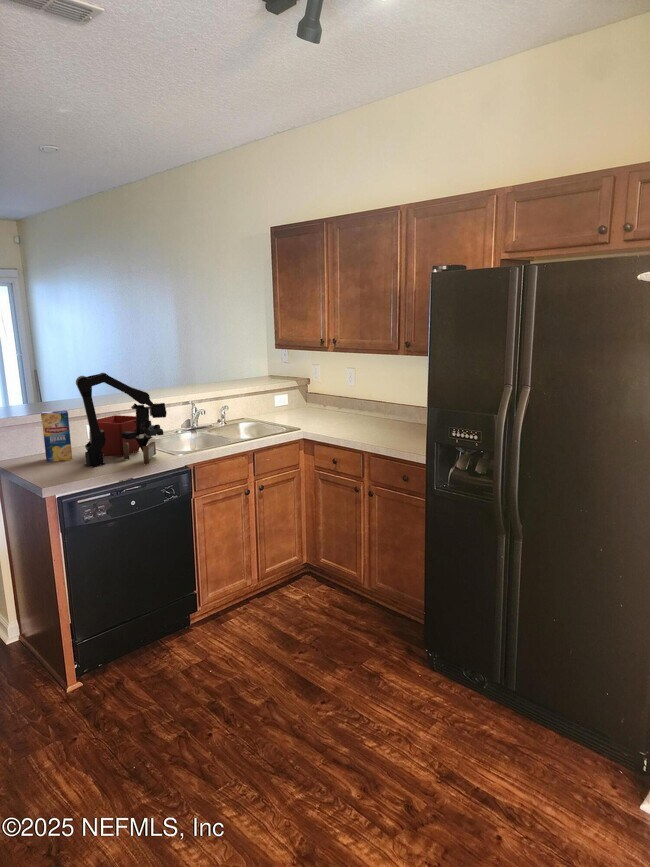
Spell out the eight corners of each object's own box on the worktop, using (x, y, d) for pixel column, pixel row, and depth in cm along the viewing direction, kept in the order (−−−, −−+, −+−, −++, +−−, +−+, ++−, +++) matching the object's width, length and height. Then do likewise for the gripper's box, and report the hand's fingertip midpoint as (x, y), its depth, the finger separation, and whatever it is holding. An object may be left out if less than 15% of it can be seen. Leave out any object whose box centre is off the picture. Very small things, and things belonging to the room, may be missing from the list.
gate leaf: (145, 460, 255) (144, 447, 254) (152, 454, 267) (151, 441, 266) (149, 460, 255) (148, 447, 254) (156, 454, 267) (155, 441, 266)
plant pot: (117, 447, 287) (114, 414, 283) (149, 450, 280) (146, 416, 277) (90, 456, 269) (86, 421, 266) (123, 459, 263) (120, 423, 259)
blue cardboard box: (45, 459, 264) (40, 412, 259) (71, 456, 269) (67, 410, 264) (46, 462, 258) (41, 414, 253) (72, 459, 263) (68, 412, 258)
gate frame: (145, 464, 252) (144, 447, 251) (123, 459, 263) (121, 442, 261) (150, 463, 254) (149, 446, 253) (127, 458, 265) (126, 441, 263)
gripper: (134, 422, 247) (135, 457, 249) (170, 418, 261) (171, 451, 264) (120, 419, 254) (121, 453, 256) (155, 415, 268) (156, 448, 271)
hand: (143, 451), depth 261 cm, fingers closed
